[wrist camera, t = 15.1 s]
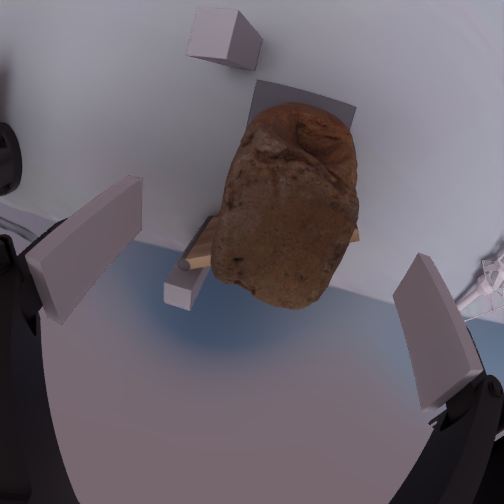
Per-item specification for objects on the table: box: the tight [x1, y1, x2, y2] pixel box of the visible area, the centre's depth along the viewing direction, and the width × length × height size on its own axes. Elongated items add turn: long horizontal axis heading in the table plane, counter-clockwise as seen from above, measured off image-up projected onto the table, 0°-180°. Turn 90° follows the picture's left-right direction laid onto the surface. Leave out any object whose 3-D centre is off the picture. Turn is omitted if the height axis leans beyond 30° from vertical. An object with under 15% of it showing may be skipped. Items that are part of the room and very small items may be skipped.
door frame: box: [164, 8, 262, 311], centre depth 26 cm, size 3×28×12 cm, turn 168°
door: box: [177, 216, 359, 271], centre depth 30 cm, size 2×18×10 cm, turn 108°
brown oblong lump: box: [210, 102, 359, 310], centre depth 21 cm, size 11×8×20 cm
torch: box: [456, 251, 504, 322], centre depth 33 cm, size 6×9×25 cm
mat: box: [245, 80, 356, 132], centre depth 29 cm, size 11×14×1 cm
